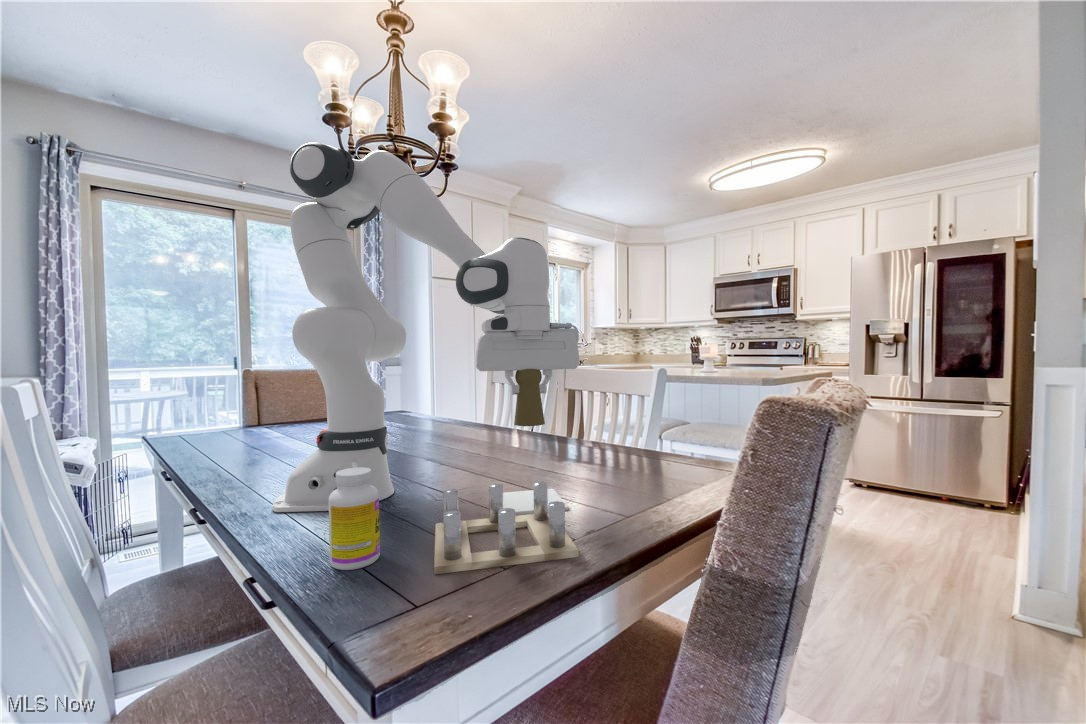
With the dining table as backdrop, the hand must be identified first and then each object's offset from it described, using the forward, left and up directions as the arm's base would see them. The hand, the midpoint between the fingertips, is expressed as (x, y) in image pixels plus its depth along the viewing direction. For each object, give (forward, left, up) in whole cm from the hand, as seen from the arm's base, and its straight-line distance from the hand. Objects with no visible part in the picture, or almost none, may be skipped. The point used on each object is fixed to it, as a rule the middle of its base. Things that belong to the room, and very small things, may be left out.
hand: (528, 393), depth 88 cm
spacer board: (-8, -17, -21) cm, 28 cm away
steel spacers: (-8, -17, -21) cm, 28 cm away
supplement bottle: (-29, -18, -22) cm, 40 cm away
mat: (0, 0, -21) cm, 21 cm away
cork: (0, 0, -6) cm, 6 cm away
